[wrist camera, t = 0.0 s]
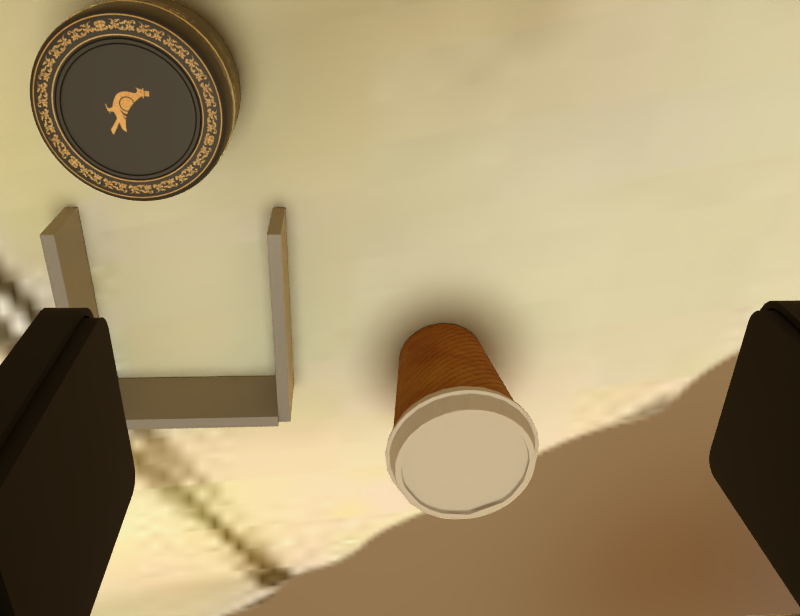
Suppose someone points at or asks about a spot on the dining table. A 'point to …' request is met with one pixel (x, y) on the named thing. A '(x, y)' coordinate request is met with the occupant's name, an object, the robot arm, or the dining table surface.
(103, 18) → the jar
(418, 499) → the disposable coffee cup
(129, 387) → the bin
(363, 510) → the dining table surface
